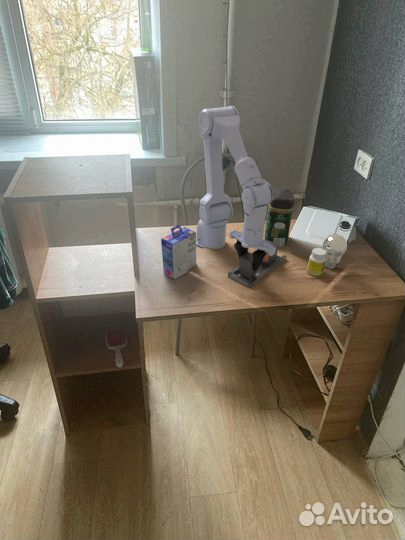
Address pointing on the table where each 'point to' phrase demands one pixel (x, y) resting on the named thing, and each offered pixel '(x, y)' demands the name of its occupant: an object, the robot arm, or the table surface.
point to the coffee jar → (279, 217)
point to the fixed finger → (270, 259)
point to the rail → (260, 274)
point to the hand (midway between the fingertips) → (249, 266)
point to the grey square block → (246, 265)
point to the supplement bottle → (316, 262)
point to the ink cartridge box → (178, 251)
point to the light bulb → (334, 249)
